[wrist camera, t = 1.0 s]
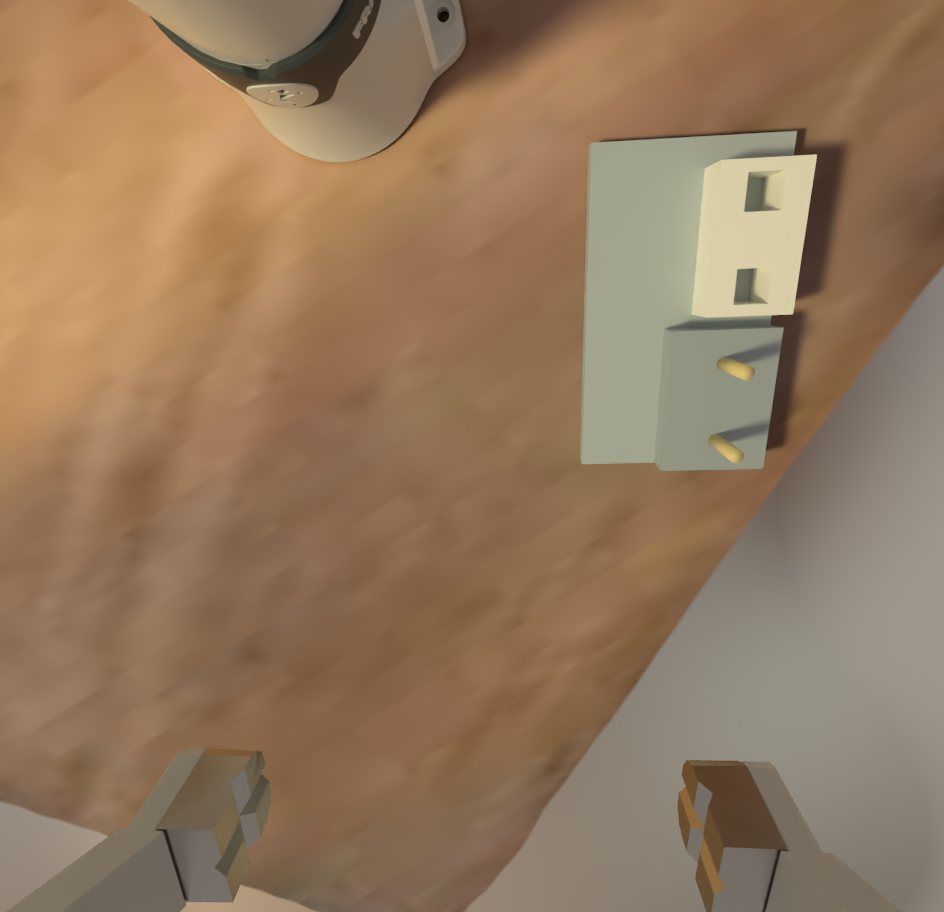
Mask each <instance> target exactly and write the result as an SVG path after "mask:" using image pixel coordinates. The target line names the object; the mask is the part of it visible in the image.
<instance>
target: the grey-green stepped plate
mask: <svg viewBox="0 0 944 912" xmlns="http://www.w3.org/2000/svg"><path fill="white" fill-rule="evenodd" d="M796 136H797V131H787V132H770V133H752V134H735V135H717V136H700V137H682V138H665V139H647V140H630V141H612V142H595V143H591V144H590V145H589V146H588V180H587V218H586V255H585V292H584V330H583V367H582V404H581V442H580V460H581V463H582V464H608V463H653V462H654V463H655V464H656V465H657V467H658V468H659V469H660V470H661V471H676V470H723V469H763V465H764V458H765V452H766V445H767V438H768V431H769V424H770V417H771V411H772V404H773V397H774V390H775V383H776V377H777V370H778V363H779V356H780V349H781V342H782V336H783V329H784V327H778V326H773V325H770V324H771V317H772V315H763V316H737V317H710V318H705V317H701V316H696V315H692V305H693V294H694V283H695V272H696V260H697V249H698V238H699V227H700V216H701V205H702V194H703V183H704V172H705V168H707V167H709V166H710V165H712V164H714V163H716V162H718V161H720V160H725V159H743V158H762V157H780V156H794V151H795V144H796ZM764 179H765V178H752V179H748V182H747V191H746V199H745V208H744V212H755V211H761V203H762V195H763V187H764ZM752 275H753V268H749V269H737V278H736V286H735V295H734V302H749V300H750V292H751V283H752Z"/></svg>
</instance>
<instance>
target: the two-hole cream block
mask: <svg viewBox="0 0 944 912" xmlns="http://www.w3.org/2000/svg"><path fill="white" fill-rule="evenodd" d="M816 159H817V155H798V156H780V157H762V158H743V159H725V160H720V161H718V162H716V163H714V164H712V165H710V166H709V167H707V168H705V172H704V183H703V194H702V205H701V216H700V227H699V238H698V249H697V260H696V272H695V283H694V294H693V305H692V315H696V316H701V317H705V318H710V317H737V316H763V315H790V314H793V311H794V305H795V298H796V291H797V285H798V278H799V272H800V265H801V258H802V252H803V245H804V238H805V232H806V225H807V219H808V212H809V205H810V199H811V192H812V185H813V179H814V172H815V166H816ZM752 178H765V179H764V187H763V195H762V203H761V211H755V212H744V208H745V199H746V191H747V182H748V179H752ZM749 268H753V275H752V283H751V292H750V300H749V302H734V295H735V286H736V278H737V269H749Z"/></svg>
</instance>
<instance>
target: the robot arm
mask: <svg viewBox="0 0 944 912" xmlns="http://www.w3.org/2000/svg"><path fill="white" fill-rule="evenodd" d="M128 1H129V2H131V3H132V4H134V5H135V6H137V7H138V8H140V9H141V10H142V11H144V12H145V13H147V14H148V15H149V16H150V17H151V18H152V19H153V21H154V22H155V23H156V25H157V26H158V27H159V28H160V29H161V30H162V31H163V32H164V34H165V35H166V36H167V37H168V38H169V39H170V40H171V41H172V42H174V43H175V44H176V45H177V46H178V47H179V48H181V49H182V50H183V51H184V52H186V53H187V54H188V55H189V56H191V57H192V58H193V59H194V60H196V61H197V62H198V63H199V64H201V65H202V67H204V68H205V69H206V70H207V71H208V72H209V73H210V74H211V75H212V76H213V77H214V78H216V79H217V80H218V81H220V82H221V83H223V84H224V85H226V86H228V87H229V88H231V89H232V90H234V91H235V92H236V93H237V94H238V95H239V96H240V97H241V98H242V99H243V100H244V102H245V103H246V104H247V105H248V107H249V108H250V109H251V110H252V112H253V113H254V115H255V116H256V117H257V119H258V120H259V121H260V122H261V123H262V125H263V126H264V127H265V128H266V129H267V130H268V131H269V132H270V133H271V134H272V135H273V136H274V137H275V138H277V139H278V140H279V141H280V142H282V143H283V144H284V145H286V146H287V147H289V148H291V149H292V150H294V151H296V152H298V153H300V154H302V155H305V156H307V157H310V158H313V159H317V160H321V161H328V162H348V161H354V160H359V159H362V158H365V157H368V156H371V155H373V154H375V153H377V152H379V151H381V150H382V149H384V148H385V147H387V146H388V145H390V144H391V143H392V142H393V141H395V140H396V139H397V138H398V137H399V136H400V135H401V134H402V133H403V132H404V131H405V129H406V128H407V127H408V126H409V124H410V123H411V122H412V120H413V119H414V117H415V116H416V114H417V112H418V110H419V108H420V106H421V104H422V102H423V100H424V98H425V96H426V94H427V92H428V90H429V88H430V87H431V85H432V83H433V82H434V80H435V79H436V78H437V77H439V76H440V75H441V74H442V73H443V72H444V71H446V70H447V69H448V68H449V67H450V66H451V65H452V64H453V63H454V62H455V61H456V60H457V59H458V58H459V57H460V55H461V54H462V52H463V50H464V48H465V45H466V31H465V26H464V21H463V16H462V11H461V6H460V1H459V0H128ZM441 12H447V13H449V19H448V20H447V21H446V22H440V21H439V20H438V15H439V14H440V13H441ZM264 767H265V760H264V756H263V752H261V751H250V750H232V749H213V748H186V747H185V748H184V749H182V750H181V751H180V752H179V753H177V754H176V755H175V757H174V758H173V760H172V761H171V763H170V764H169V766H168V767H167V769H166V770H165V772H164V773H163V775H162V776H161V778H160V779H159V781H158V782H157V784H156V785H155V787H154V788H153V790H152V791H151V793H150V794H149V796H148V797H147V799H146V800H145V802H144V803H143V805H142V806H141V808H140V809H139V811H138V812H137V814H136V815H135V817H134V818H133V820H132V821H131V823H130V824H129V826H128V827H127V829H118V830H117V831H116V832H114V833H113V834H111V835H110V836H109V837H107V838H106V839H105V840H103V841H102V842H101V843H99V844H98V845H96V846H95V847H94V848H92V849H91V850H90V851H88V852H87V853H86V854H84V855H83V856H81V857H80V858H79V859H77V860H76V861H75V862H73V863H72V864H71V865H69V866H68V867H67V868H65V869H64V870H63V871H61V872H60V873H58V874H57V875H56V876H54V877H53V878H52V879H50V880H49V881H47V882H46V883H45V884H43V885H42V886H41V887H39V888H38V889H36V890H35V891H34V892H32V893H31V894H30V895H28V896H27V897H26V898H24V899H23V900H22V901H20V902H19V903H17V904H16V905H15V906H13V907H12V908H11V909H9V910H8V911H6V912H180V911H181V910H182V909H183V908H184V907H185V906H186V902H233V901H234V899H235V896H236V894H237V891H238V889H239V887H240V884H241V882H242V880H243V877H244V875H245V873H246V870H247V868H248V866H249V863H250V861H249V856H248V852H247V849H248V848H249V847H250V846H251V845H252V844H253V843H254V842H256V841H257V840H258V839H259V838H260V837H261V834H262V832H263V829H264V827H265V824H266V822H267V818H268V813H269V809H270V804H271V789H270V783H269V781H268V780H267V779H266V778H265V777H264V776H263V775H262V774H261V773H262V771H263V769H264ZM682 777H683V779H684V782H685V785H686V787H685V788H684V789H683V790H681V791H680V792H679V800H678V815H679V824H680V828H681V833H682V837H683V841H684V844H685V847H686V851H687V852H688V853H689V854H690V855H691V856H692V857H693V858H694V859H695V860H696V861H697V862H698V866H697V872H696V882H697V885H698V888H699V890H700V894H701V896H702V900H703V903H704V906H705V909H706V912H902V911H901V910H900V909H898V908H897V907H896V906H895V905H894V904H893V903H891V902H890V901H889V900H888V899H887V898H885V897H884V896H883V895H882V894H881V893H879V892H878V891H877V890H876V889H874V888H873V887H872V886H871V885H870V884H869V883H867V882H866V881H865V880H864V879H862V878H861V877H860V876H859V875H858V874H857V873H855V872H854V871H853V870H851V869H850V868H849V867H848V866H847V865H846V864H844V863H843V862H842V861H841V860H840V859H838V858H837V857H836V856H835V855H834V854H832V853H824V852H822V850H821V848H820V846H819V845H818V843H817V841H816V839H815V838H814V836H813V834H812V832H811V831H810V829H809V827H808V825H807V823H806V821H805V820H804V818H803V816H802V815H801V813H800V811H799V809H798V807H797V805H796V804H795V802H794V800H793V798H792V797H791V795H790V793H789V791H788V789H787V788H786V786H785V784H784V782H783V780H782V779H781V777H780V775H779V773H778V772H777V770H776V768H775V767H774V766H773V765H772V764H771V763H770V762H743V761H742V762H739V761H700V760H696V761H695V760H687V761H686V762H685V764H684V765H683V771H682Z"/></svg>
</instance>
